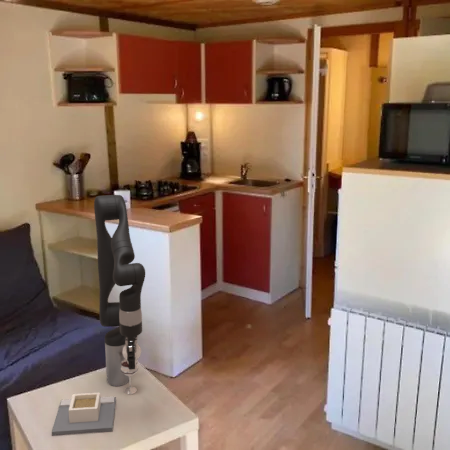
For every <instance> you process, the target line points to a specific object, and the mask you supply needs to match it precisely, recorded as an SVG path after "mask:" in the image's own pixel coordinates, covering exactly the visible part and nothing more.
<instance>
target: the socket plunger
mask: <svg viewBox="0 0 450 450" xmlns="http://www.w3.org/2000/svg"><path fill="white" fill-rule="evenodd" d="M95 402H96V398H95V399H79V400H76V403H75V407H74V408H86V407H95Z"/></svg>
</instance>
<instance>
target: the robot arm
mask: <svg viewBox="0 0 450 450" xmlns="http://www.w3.org/2000/svg"><path fill="white" fill-rule="evenodd" d="M93 203H94V204H93V208H94V219H95V221H94V222H95V229H96V239H97V242H96V243H97V247H96V248H97V271H98V283H99V285H98V286H99V310H98V311H99V314H98V315H99V323H100V325H101V326H102V327H105V328H106V327H107V328H108V327H109V328H110V327H113V328H114V327H116V328H114V329H112V330H109V331H107V333H105V335H104V349H105V352H104V353H105V369H106V370H105V372H106V373H105V374H106V382H107V384H108V385H110V386H114V387H119V386H124V385H126V384H129V377H128V376H125V375H124V374H123V373H122V372H121V369H120V368H121V364H120V363H121V361H123V360H125V358H124V356H123V348H124V346H125V345H126V353H127V360H128V366H129V369H135V359H136V357H135V353H136V351H137V347H136V344H138V336H139V335H141V334H142V332H143V312H142V304H141V303H142V302H141V301H142V299H141V297H142V296H141V295H142V291H143V290H142V289H143V287H144V282H145V278H146V269H145V266H144V265H143V264H142V263H141V262H135V263H133V261H135V260H134V259H135V258H136V256H135V250H134V246H133V243H132V240H131V234H130V228H129V227H130V226H129V218H128V212H127V211H128V210H127V204H126V201H125V198H124V197H123V196H122V195H120V194H111V195H110V194H107V195H106V194H105V195H98V196H96V197H95V199H94V202H93ZM117 220H118V225H117V227H116V228H115V231H114V233H113V234H112V236H111V234H110V233H109V231H108V229H107V226H106V221H117ZM115 285H116V286H118V287H125V286H130V287H129V288H126V289H124V290H122V291H121V292H120V293H119V296H118V298H119V299H118V300H119V301H116V302H109V297H110V294H111V292H112V291H113V289H114V287H115Z"/></svg>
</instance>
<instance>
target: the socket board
mask: <svg viewBox="0 0 450 450" xmlns="http://www.w3.org/2000/svg"><path fill="white" fill-rule="evenodd" d="M95 398H96V402H95V407H86V408H74V407H75V403H76V400H79V399H95ZM116 403H117V397H116V396H115V395H114V396H113V395H112V396H101V393H100V392H88V393H85V392H83V393H73V394H72V395H71V398H65V399H61V400H60V402H59V406H58V408H57V413H56V416H55V420H54V421H53V422H54V423H53V427H52V430H51V436H67V435H69V436H70V435H80V434H82V435H83V434H93V433H94V434H95V433H108V432H110V433H111V432H113V430H114V421H115V411H116V405H117V404H116Z"/></svg>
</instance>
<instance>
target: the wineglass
mask: <svg viewBox="0 0 450 450" xmlns="http://www.w3.org/2000/svg"><path fill="white" fill-rule="evenodd" d="M138 361H139V360H137V363H136V371H135V372H130V371H129V366H128V363H127V360H126V359H125V360H123V361H121V363H120V364H121V368H120V369H121V372H122V373H123V374H124V375H125V376H128V377H129V382H128V384H129V386H127V387H126V388H124V389H123V393H124V394H126V395H133V394H135V393H136V392H137V390H138V389H137V387H135V386H132V383H131V382H132V381H131V380H132V379H131V378H132V376H134V375H135V374H137V373H138V371H139V362H138Z"/></svg>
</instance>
